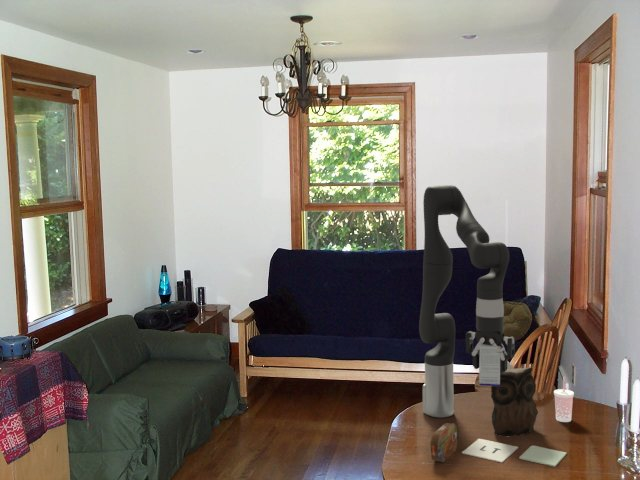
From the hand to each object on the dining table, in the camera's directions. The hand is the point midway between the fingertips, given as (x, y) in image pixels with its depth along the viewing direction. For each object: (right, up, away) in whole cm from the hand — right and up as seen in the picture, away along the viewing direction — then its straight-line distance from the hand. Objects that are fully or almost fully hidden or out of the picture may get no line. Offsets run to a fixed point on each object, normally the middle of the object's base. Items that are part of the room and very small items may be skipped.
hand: (489, 370), depth 208 cm
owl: (+11, -22, +19) cm, 31 cm away
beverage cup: (+29, -20, +25) cm, 44 cm away
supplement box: (0, -4, +1) cm, 4 cm away
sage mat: (+14, -24, -2) cm, 28 cm away
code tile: (+1, -24, +3) cm, 24 cm away
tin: (-13, -25, 0) cm, 28 cm away
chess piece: (+16, -19, +41) cm, 48 cm away
